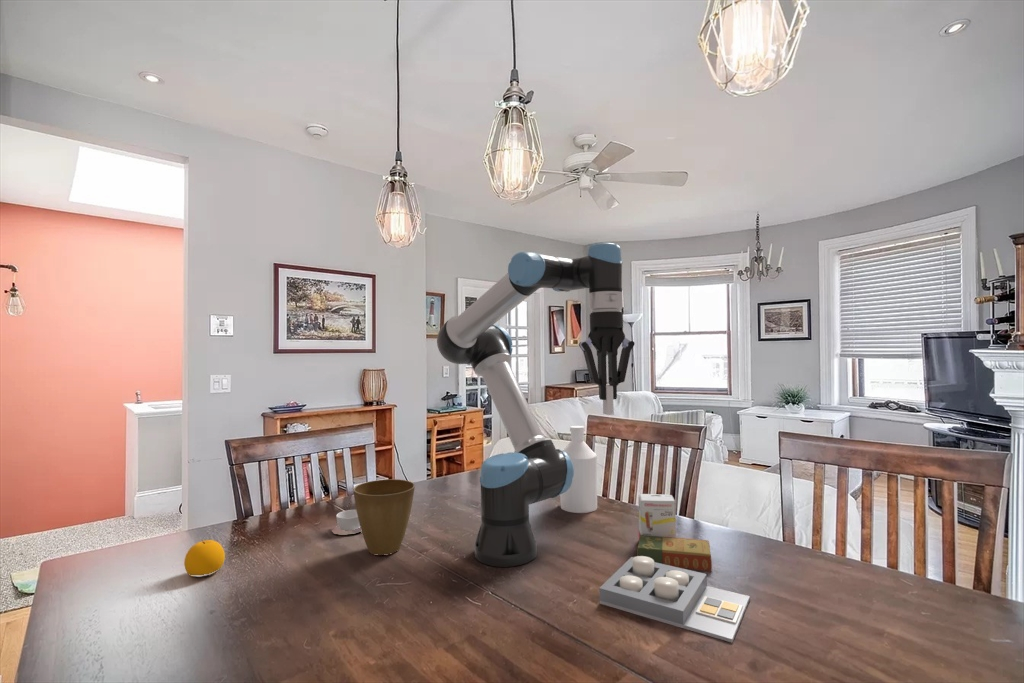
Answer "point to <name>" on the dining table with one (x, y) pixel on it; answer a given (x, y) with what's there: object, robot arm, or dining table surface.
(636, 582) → the button
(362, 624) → the dining table surface
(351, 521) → the teacup
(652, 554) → the carton
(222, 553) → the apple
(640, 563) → the button
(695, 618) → the keypad board
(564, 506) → the bottle
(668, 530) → the ink box
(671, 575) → the button
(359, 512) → the plant pot
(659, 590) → the button
